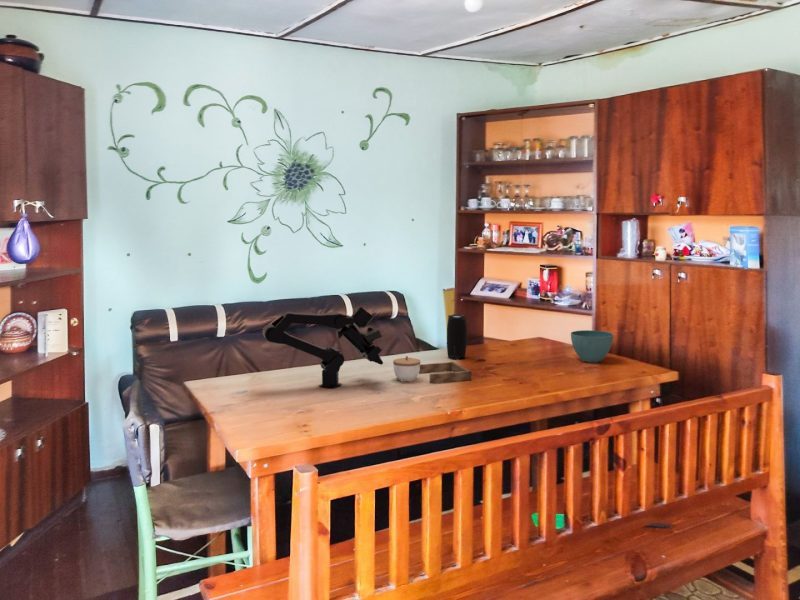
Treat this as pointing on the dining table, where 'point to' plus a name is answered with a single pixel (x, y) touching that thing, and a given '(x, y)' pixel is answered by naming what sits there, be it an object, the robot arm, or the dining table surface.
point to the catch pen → (456, 375)
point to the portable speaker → (456, 336)
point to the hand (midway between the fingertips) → (382, 363)
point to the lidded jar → (406, 368)
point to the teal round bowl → (591, 344)
